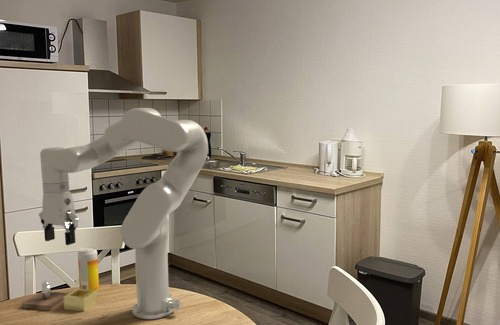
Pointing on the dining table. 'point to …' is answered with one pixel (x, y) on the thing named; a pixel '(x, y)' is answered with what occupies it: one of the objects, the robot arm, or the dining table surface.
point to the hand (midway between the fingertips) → (60, 242)
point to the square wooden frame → (80, 299)
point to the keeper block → (45, 299)
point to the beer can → (88, 268)
